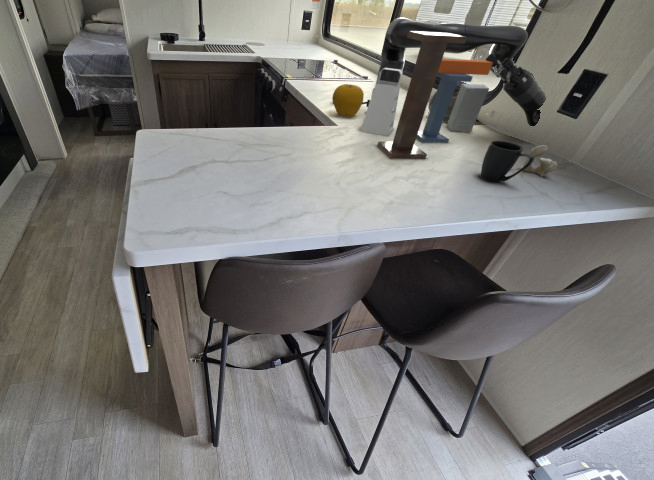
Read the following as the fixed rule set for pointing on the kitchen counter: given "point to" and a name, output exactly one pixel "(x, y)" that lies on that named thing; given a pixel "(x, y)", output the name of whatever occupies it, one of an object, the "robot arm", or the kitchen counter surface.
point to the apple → (347, 99)
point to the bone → (545, 163)
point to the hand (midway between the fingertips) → (496, 58)
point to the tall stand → (418, 93)
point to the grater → (382, 107)
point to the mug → (502, 161)
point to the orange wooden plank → (465, 66)
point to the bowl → (449, 104)
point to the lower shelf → (441, 107)
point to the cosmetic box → (467, 107)
